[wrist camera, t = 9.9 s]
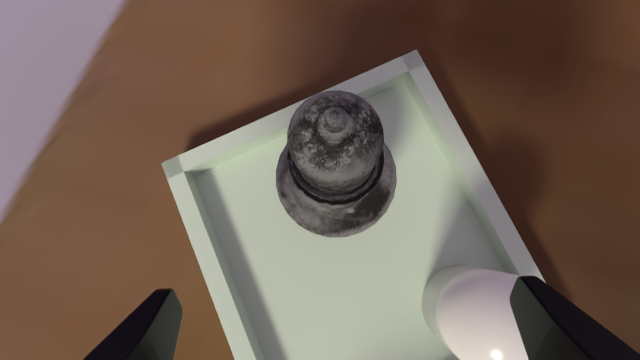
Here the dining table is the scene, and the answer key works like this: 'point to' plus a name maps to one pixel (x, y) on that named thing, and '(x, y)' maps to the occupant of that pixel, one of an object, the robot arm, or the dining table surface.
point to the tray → (343, 252)
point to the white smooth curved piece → (473, 313)
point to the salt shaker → (335, 166)
